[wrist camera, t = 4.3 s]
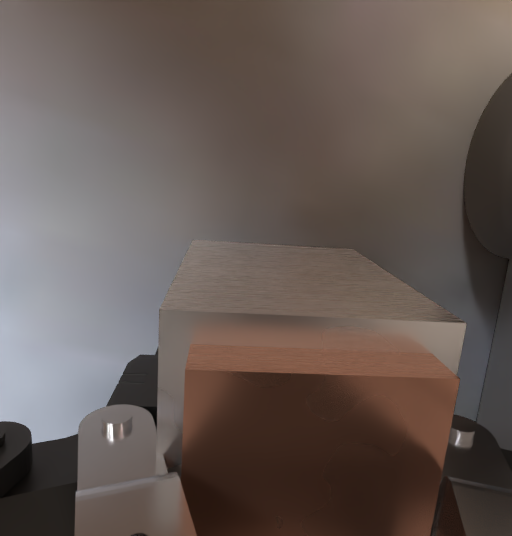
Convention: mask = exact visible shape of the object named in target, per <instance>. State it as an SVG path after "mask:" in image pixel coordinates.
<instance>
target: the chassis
mask: <svg viewBox="0 0 512 536" xmlns="http://www.w3.org/2000/svg"><path fill="white" fill-rule="evenodd" d="M464 197H465V206H466V212H467V216H468V219H469V223H470V225H471V228H472V230H473V232H474V234H475V236H476V237H477V239H478V240H479V242H480V243H481V244H482V245H483V246H484V247H485V248H486V249H487V250H489V251H490V252H491V253H493V254H495V255H497V256H500V257H504V258H508V259H509V264H508V269H507V274H506V279H505V284H504V288H503V293H502V298H501V303H500V308H499V313H498V318H497V323H496V328H495V333H494V337H493V342H492V347H491V352H490V357H489V362H488V367H487V372H486V377H485V382H484V387H483V391H482V396H481V401H480V406H479V411H478V416H477V421H476V422H477V423H478V424H480V425H482V426H483V427H485V428H486V429H487V430H489V431H490V432H491V433H492V434H493V436H494V437H495V439H496V441H497V443H498V445H499V447H500V448H502V449H506V450H511V451H512V74H511V75H510V76H509V77H508V78H507V79H506V80H505V81H504V82H503V83H502V84H501V85H500V87H499V88H498V89H497V91H496V92H495V93H494V95H493V96H492V98H491V99H490V101H489V103H488V104H487V106H486V108H485V109H484V111H483V113H482V115H481V117H480V120H479V122H478V124H477V127H476V129H475V132H474V135H473V138H472V141H471V144H470V148H469V151H468V156H467V161H466V168H465V178H464Z"/></svg>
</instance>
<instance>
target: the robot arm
mask: <svg viewBox="0 0 512 536" xmlns="http://www.w3.org/2000/svg"><path fill="white" fill-rule="evenodd" d="M157 395H158V349H157V351H156V354H155V355H139V356H138V357H136V358H135V359H133V360H132V361H130V362H129V363H128V364H127V366H126V368H125V370H124V372H123V375H122V376H121V378H120V380H119V384H117V386H116V388H115V390H114V392H113V394H112V396H111V398H110V400H109V402H108V404H107V406H106V407H103V408H100V409H98V410H95V411H93V412H91V413H90V414H88V415H87V416H86V417H85V418H84V419H83V420H82V421H81V423H80V425H79V429H78V434H76V435H73V436H70V437H67V438H62V439H58V440H52V441H46V442H40V443H34V444H32V438H31V432H30V430H29V429H28V428H27V427H26V426H24V425H22V424H20V423H16V422H0V536H197V534H196V531H195V528H194V524H193V521H192V518H191V514H190V511H189V508H188V504H187V501H186V498H185V495H184V491H183V488H182V485H181V481H180V478H179V476H178V474H177V472H171V473H168V471H167V468H166V464H165V460H164V456H163V454H156V444H157ZM430 536H512V451H511V450H506V449H502V448H500V447H499V445H498V443H497V441H496V439H495V437H494V436H493V434H492V433H491V432H490V431H489V430H487V429H486V428H485V427H483V426H482V425H480V424H478V423H477V422H475V421H472V420H470V419H468V418H465V417H462V416H458V415H454V414H453V418H452V424H451V429H450V434H449V439H448V445H447V450H446V455H445V460H444V466H443V471H442V476H441V481H440V486H439V492H438V497H437V502H436V507H435V513H434V518H433V523H432V528H431V534H430Z"/></svg>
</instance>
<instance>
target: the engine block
mask: <svg viewBox="0 0 512 536" xmlns="http://www.w3.org/2000/svg"><path fill="white" fill-rule="evenodd" d="M466 324H467V323H465V322H464V321H462V320H461V319H459V318H458V317H456V316H455V315H453V314H452V313H450V312H448V311H447V310H445V309H444V308H442V307H441V306H439V305H438V304H436V303H435V302H433V301H432V300H430V299H428V298H427V297H425V296H424V295H422V294H421V293H419V292H418V291H416V290H415V289H413V288H412V287H410V286H409V285H407V284H405V283H404V282H402V281H401V280H399V279H398V278H396V277H395V276H393V275H392V274H390V273H389V272H387V271H386V270H384V269H382V268H381V267H379V266H378V265H376V264H375V263H373V262H372V261H370V260H369V259H367V258H366V257H364V256H363V255H361V254H359V253H358V252H356V251H355V250H353V249H344V248H327V247H310V246H293V245H275V244H258V243H241V242H224V241H206V240H192V242H191V245H190V247H189V249H188V251H187V253H186V255H185V257H184V259H183V261H182V263H181V265H180V267H179V269H178V272H177V274H176V276H175V278H174V280H173V282H172V284H171V286H170V288H169V290H168V292H167V294H166V297H165V299H164V301H163V303H162V305H161V307H160V309H159V346H158V395H157V444H156V454H163V456H164V460H165V464H166V468H167V471H168V473H171V472H177V474H178V476H179V478H180V481H181V485H182V488H183V491H184V495H185V498H186V501H187V504H188V508H189V511H190V514H191V518H192V521H193V524H194V528H195V531H196V534H197V536H430V534H431V528H432V523H433V518H434V513H435V507H436V502H437V497H438V492H439V486H440V481H441V476H442V471H443V466H444V460H445V455H446V450H447V445H448V439H449V434H450V429H451V424H452V418H453V413H454V408H455V403H456V398H457V392H458V387H459V382H460V379H459V378H458V377H457V372H458V367H459V361H460V356H461V351H462V346H463V340H464V335H465V330H466Z"/></svg>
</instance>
